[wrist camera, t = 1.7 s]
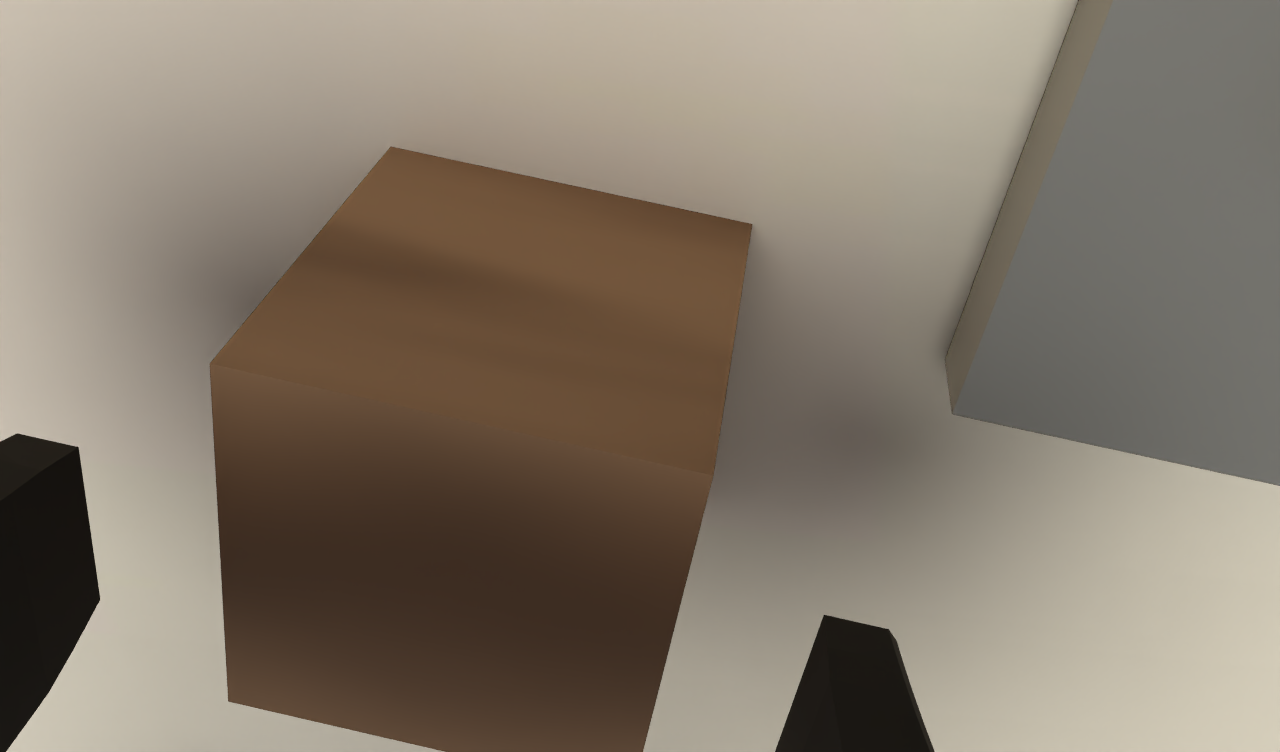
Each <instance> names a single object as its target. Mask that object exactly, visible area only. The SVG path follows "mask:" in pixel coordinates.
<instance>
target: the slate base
mask: <svg viewBox="0 0 1280 752" xmlns="http://www.w3.org/2000/svg"><path fill="white" fill-rule="evenodd" d="M945 363H946V371H947V379H948V387H949V395H950V403H951V410H952V414H953V415H957V416H962V417H967V418H971V419H976V420H980V421H985V422H990V423H994V424H999V425H1003V426H1008V427H1012V428H1017V429H1022V430H1026V431H1031V432H1035V433H1040V434H1045V435H1049V436H1054V437H1058V438H1063V439H1068V440H1072V441H1077V442H1081V443H1086V444H1090V445H1095V446H1100V447H1104V448H1109V449H1113V450H1118V451H1123V452H1127V453H1132V454H1136V455H1141V456H1145V457H1150V458H1155V459H1159V460H1164V461H1168V462H1173V463H1178V464H1182V465H1187V466H1191V467H1196V468H1200V469H1205V470H1210V471H1214V472H1219V473H1223V474H1228V475H1233V476H1237V477H1242V478H1246V479H1251V480H1255V481H1260V482H1265V483H1269V484H1274V485H1278V486H1280V0H1079V2H1078V4H1077V7H1076V10H1075V12H1074V15H1073V18H1072V20H1071V23H1070V26H1069V29H1068V31H1067V34H1066V37H1065V39H1064V42H1063V45H1062V47H1061V50H1060V53H1059V55H1058V58H1057V61H1056V63H1055V66H1054V69H1053V71H1052V74H1051V77H1050V79H1049V82H1048V85H1047V88H1046V90H1045V93H1044V96H1043V98H1042V101H1041V104H1040V106H1039V109H1038V112H1037V114H1036V117H1035V120H1034V122H1033V125H1032V128H1031V130H1030V133H1029V136H1028V139H1027V141H1026V144H1025V147H1024V149H1023V152H1022V155H1021V157H1020V160H1019V163H1018V165H1017V168H1016V171H1015V173H1014V176H1013V179H1012V181H1011V184H1010V187H1009V189H1008V192H1007V195H1006V198H1005V200H1004V203H1003V206H1002V208H1001V211H1000V214H999V216H998V219H997V222H996V224H995V227H994V230H993V232H992V235H991V238H990V240H989V243H988V246H987V248H986V251H985V254H984V257H983V259H982V262H981V265H980V267H979V270H978V273H977V275H976V278H975V281H974V283H973V286H972V289H971V291H970V294H969V297H968V299H967V302H966V305H965V307H964V310H963V313H962V316H961V318H960V321H959V324H958V326H957V329H956V332H955V334H954V337H953V340H952V342H951V345H950V348H949V350H948V353H947V356H946V358H945Z"/></svg>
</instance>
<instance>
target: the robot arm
mask: <svg viewBox="0 0 1280 752" xmlns="http://www.w3.org/2000/svg"><path fill="white" fill-rule="evenodd" d="M99 601H100V594H99V587H98V580H97V573H96V566H95V560H94V553H93V546H92V539H91V532H90V525H89V518H88V511H87V504H86V497H85V490H84V483H83V476H82V469H81V462H80V455H79V448H78V447H75V446H71V445H66V444H62V443H57V442H53V441H48V440H44V439H39V438H35V437H30V436H26V435H22V434H15V435H13V436H11V437H9V438H7V439H5V440H3V441H1V442H0V752H6V751H7V750H8V748H9V747H10V745H11V744H12V743H13V741H14V740H15V739H16V737H17V736H18V734H19V733H20V732H21V730H22V729H23V728H24V726H25V725H26V723H27V722H28V721H29V719H30V718H31V717H32V715H33V714H34V712H35V711H36V710H37V708H38V707H39V705H40V704H41V703H42V701H43V700H44V698H45V697H46V695H47V694H48V693H49V691H50V689H51V687H52V686H53V684H54V682H55V681H56V679H57V677H58V675H59V674H60V672H61V670H62V668H63V667H64V665H65V663H66V661H67V660H68V658H69V656H70V655H71V653H72V651H73V649H74V647H75V646H76V644H77V642H78V640H79V638H80V636H81V634H82V632H83V631H84V629H85V627H86V625H87V623H88V621H89V619H90V617H91V616H92V614H93V612H94V610H95V608H96V606H97V604H98V603H99ZM775 752H934V749H933V746H932V744H931V741H930V738H929V736H928V733H927V730H926V728H925V725H924V722H923V719H922V717H921V714H920V711H919V708H918V705H917V703H916V700H915V697H914V694H913V691H912V688H911V685H910V682H909V679H908V676H907V673H906V670H905V667H904V664H903V661H902V657H901V654H900V651H899V648H898V644H897V641H896V639H895V638H894V636H893V635H892V634H891V632H890V631H889V629H885V628H880V627H876V626H871V625H867V624H862V623H858V622H853V621H849V620H845V619H840V618H836V617H831V616H827V615H824V616H823V619H822V622H821V625H820V628H819V630H818V633H817V636H816V639H815V642H814V644H813V647H812V650H811V653H810V656H809V658H808V661H807V664H806V667H805V670H804V672H803V675H802V678H801V681H800V684H799V686H798V689H797V692H796V695H795V698H794V700H793V703H792V706H791V709H790V712H789V714H788V717H787V720H786V723H785V726H784V728H783V731H782V734H781V737H780V740H779V742H778V745H777V748H776V751H775Z"/></svg>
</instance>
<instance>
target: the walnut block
mask: <svg viewBox="0 0 1280 752" xmlns="http://www.w3.org/2000/svg"><path fill="white" fill-rule="evenodd" d="M751 229H752V224H749V223H744V222H740V221H735V220H730V219H726V218H721V217H716V216H712V215H707V214H702V213H698V212H693V211H688V210H684V209H679V208H674V207H670V206H665V205H660V204H656V203H651V202H646V201H642V200H637V199H632V198H628V197H623V196H618V195H614V194H609V193H604V192H600V191H595V190H590V189H586V188H581V187H576V186H572V185H567V184H562V183H558V182H553V181H548V180H544V179H539V178H534V177H530V176H525V175H520V174H516V173H511V172H506V171H502V170H497V169H492V168H488V167H483V166H478V165H474V164H469V163H464V162H460V161H455V160H450V159H446V158H441V157H436V156H432V155H427V154H422V153H418V152H413V151H408V150H404V149H399V148H394V147H390V148H389V149H388V151H387V152H386V153H385V154H384V155H383V157H382V158H381V159H380V160H379V161H378V163H377V164H376V165H375V166H374V167H373V169H372V170H371V171H370V172H369V173H368V175H367V176H366V177H365V178H364V179H363V181H362V182H361V183H360V184H359V185H358V187H357V188H356V189H355V190H354V191H353V193H352V194H351V195H350V196H349V197H348V199H347V200H346V201H345V202H344V203H343V205H342V206H341V207H340V208H339V209H338V211H337V212H336V213H335V214H334V215H333V217H332V218H331V219H330V220H329V221H328V223H327V224H326V225H325V226H324V227H323V229H322V230H321V231H320V232H319V233H318V235H317V236H316V237H315V238H314V239H313V241H312V242H311V243H310V244H309V245H308V247H307V248H306V249H305V250H304V251H303V253H302V254H301V255H300V256H299V257H298V259H297V260H296V261H295V262H294V263H293V264H292V266H291V267H290V268H289V269H288V270H287V272H286V273H285V274H284V275H283V276H282V278H281V279H280V280H279V281H278V282H277V284H276V285H275V286H274V287H273V288H272V290H271V291H270V292H269V293H268V294H267V296H266V297H265V298H264V299H263V300H262V302H261V303H260V304H259V305H258V306H257V308H256V309H255V310H254V311H253V312H252V314H251V315H250V316H249V317H248V318H247V320H246V321H245V322H244V323H243V324H242V326H241V327H240V328H239V329H238V330H237V332H236V333H235V334H234V335H233V336H232V338H231V339H230V340H229V341H228V342H227V344H226V345H225V346H224V347H223V348H222V350H221V351H220V352H219V353H218V354H217V356H216V357H215V358H214V359H213V360H212V362H211V363H210V378H211V396H212V414H213V433H214V451H215V469H216V487H217V505H218V523H219V541H220V559H221V578H222V596H223V614H224V632H225V650H226V668H227V686H228V701H229V702H233V703H237V704H242V705H246V706H250V707H255V708H259V709H263V710H268V711H272V712H276V713H281V714H285V715H289V716H294V717H298V718H302V719H307V720H311V721H315V722H320V723H324V724H328V725H333V726H337V727H341V728H346V729H350V730H354V731H359V732H363V733H367V734H372V735H376V736H380V737H384V738H389V739H393V740H397V741H402V742H406V743H410V744H415V745H419V746H423V747H428V748H432V749H436V750H441V751H445V752H643V749H644V745H645V741H646V737H647V733H648V729H649V726H650V722H651V718H652V714H653V710H654V706H655V702H656V698H657V694H658V690H659V686H660V682H661V679H662V675H663V671H664V667H665V663H666V659H667V655H668V651H669V647H670V643H671V639H672V635H673V632H674V628H675V624H676V620H677V616H678V612H679V608H680V604H681V600H682V596H683V592H684V588H685V584H686V581H687V577H688V573H689V569H690V565H691V561H692V557H693V553H694V549H695V545H696V541H697V537H698V534H699V530H700V526H701V522H702V518H703V514H704V510H705V506H706V502H707V498H708V494H709V490H710V487H711V483H712V479H713V474H714V468H715V461H716V455H717V449H718V442H719V436H720V429H721V423H722V416H723V410H724V403H725V397H726V390H727V384H728V377H729V371H730V364H731V358H732V352H733V345H734V339H735V332H736V326H737V319H738V313H739V306H740V300H741V293H742V287H743V280H744V274H745V268H746V261H747V255H748V248H749V242H750V235H751Z"/></svg>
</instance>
